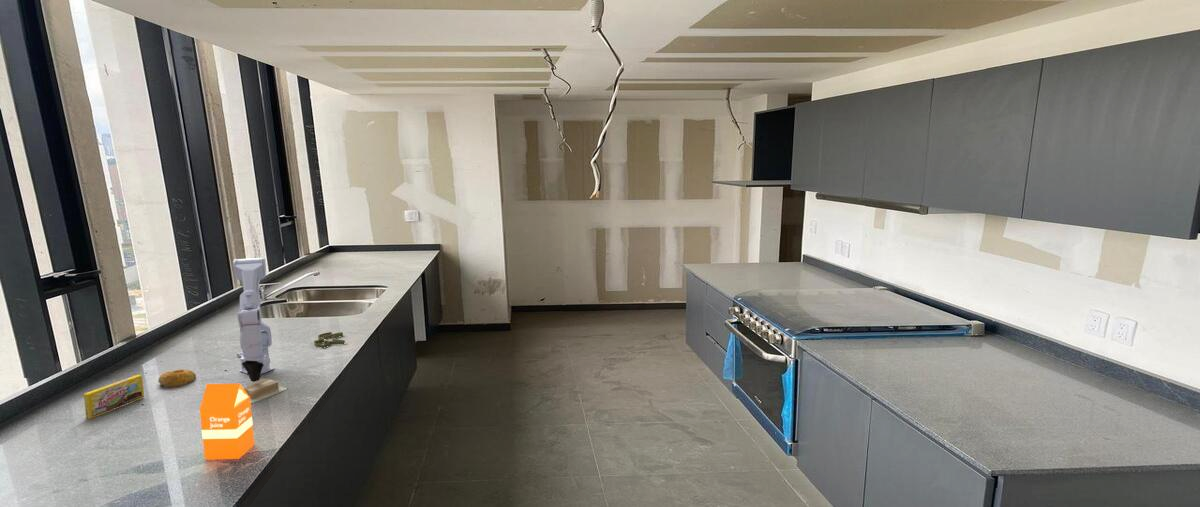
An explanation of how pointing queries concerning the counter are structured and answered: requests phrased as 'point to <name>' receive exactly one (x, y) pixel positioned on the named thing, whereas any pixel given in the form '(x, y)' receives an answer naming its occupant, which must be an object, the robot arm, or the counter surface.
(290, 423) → the counter surface
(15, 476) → the counter surface
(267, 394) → the sage mat
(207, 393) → the orange juice
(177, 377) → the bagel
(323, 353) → the counter surface
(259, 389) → the maple tile
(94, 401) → the candy box
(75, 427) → the counter surface
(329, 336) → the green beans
